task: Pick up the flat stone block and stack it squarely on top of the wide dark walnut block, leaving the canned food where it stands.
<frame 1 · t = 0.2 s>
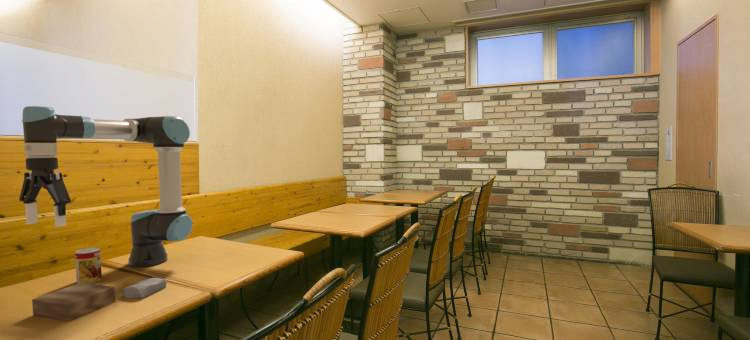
hand: (46, 225, 119), 28 cm above the table, tool pointing down, fingers open, 13 cm apart
canned food: (89, 281, 148), on the table
stone block: (144, 292, 137), on the table
walnut plinth: (76, 307, 123), on the table
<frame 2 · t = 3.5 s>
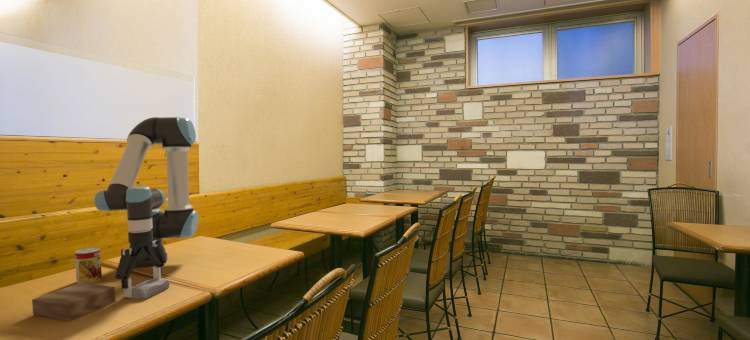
hand: (143, 290, 136), 0 cm above the table, tool pointing down, fingers closed on stone block, 12 cm apart
stone block: (147, 293, 136), on the table, touching gripper
everything else where it was.
when the fingers open (8 cm above the table, at t = 9.3 s): stone block drops 2 cm, resting on walnut plinth.
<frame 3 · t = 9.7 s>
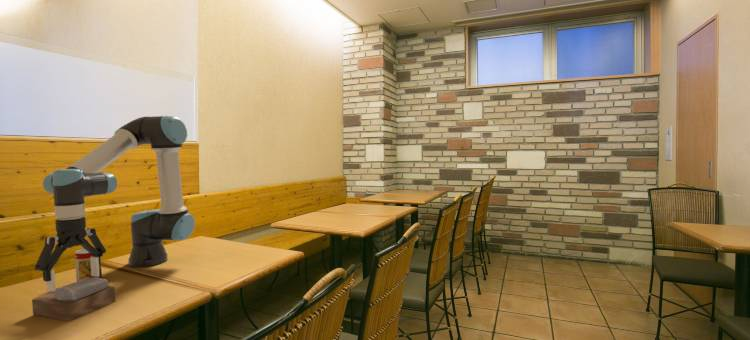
hand: (74, 283, 122), 8 cm above the table, tool pointing down, fingers open, 13 cm apart
stone block: (80, 294, 122), point 5 cm above the table, touching walnut plinth
everything else where it was.
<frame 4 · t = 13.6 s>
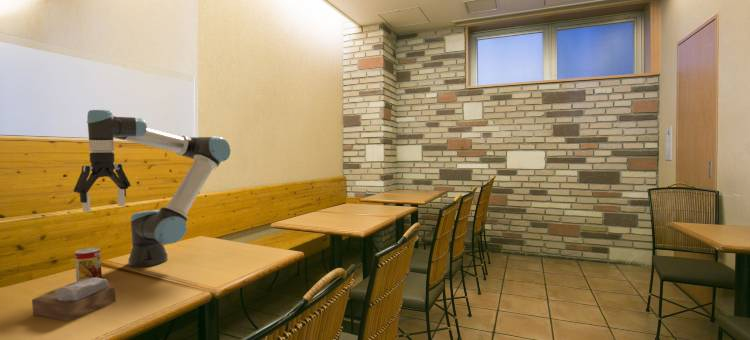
hand: (105, 208, 143), 29 cm above the table, tool pointing down, fingers open, 13 cm apart
nothing on the table moved.
at the end: stone block inside the target area on the walnut plinth (2.5 cm from its centre), point 4.8 cm above the walnut plinth's base; stone block touching walnut plinth; the gripper is holding nothing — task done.
